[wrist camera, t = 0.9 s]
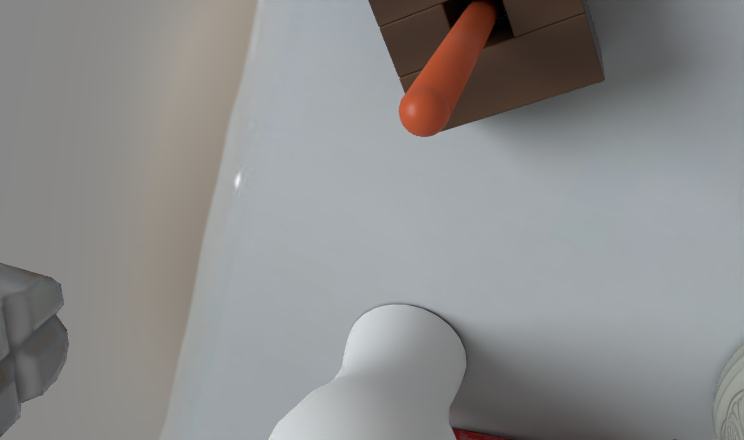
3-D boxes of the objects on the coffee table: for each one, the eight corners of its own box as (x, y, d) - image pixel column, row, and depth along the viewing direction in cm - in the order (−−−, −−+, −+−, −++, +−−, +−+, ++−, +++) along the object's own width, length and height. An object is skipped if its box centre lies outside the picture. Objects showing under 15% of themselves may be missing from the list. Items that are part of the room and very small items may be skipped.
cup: (376, 252, 42) (289, 426, 29) (524, 346, 43) (502, 559, 30) (300, 361, 48) (198, 549, 35) (432, 443, 48) (380, 660, 35)
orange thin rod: (471, -10, 34) (386, 103, 19) (499, -20, 34) (435, 86, 18) (481, 18, 35) (405, 150, 19) (508, 8, 34) (453, 135, 19)
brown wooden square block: (380, -53, 34) (352, -40, 30) (550, -127, 31) (546, -124, 27) (439, 105, 37) (421, 138, 33) (601, 52, 34) (605, 81, 30)
